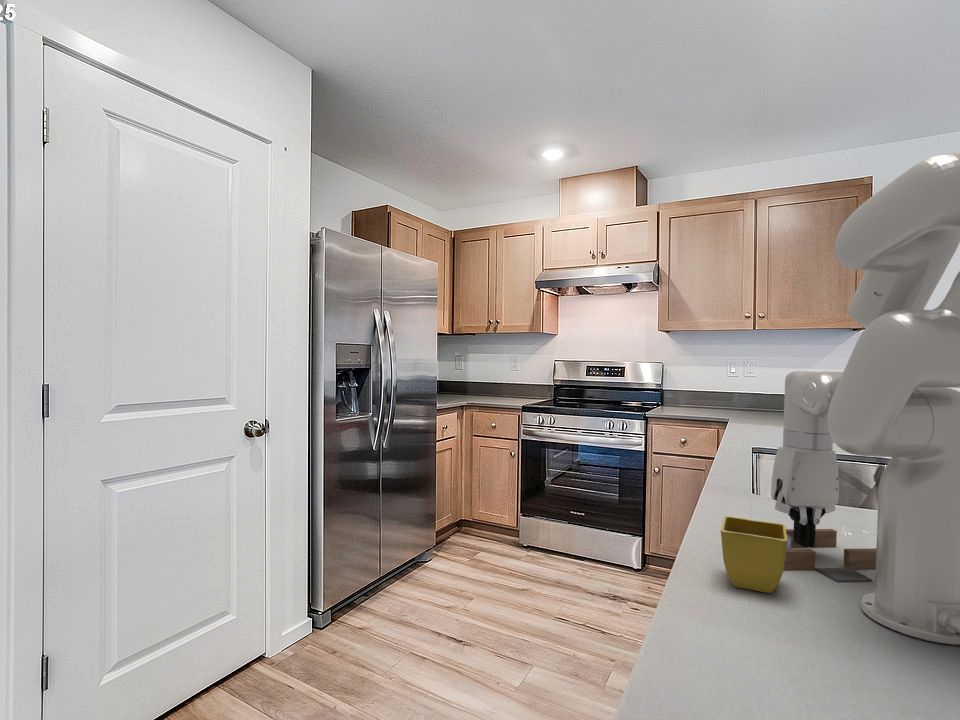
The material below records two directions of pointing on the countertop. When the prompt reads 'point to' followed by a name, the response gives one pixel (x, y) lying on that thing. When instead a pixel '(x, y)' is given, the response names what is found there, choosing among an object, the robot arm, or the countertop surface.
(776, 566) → the flower pot
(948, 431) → the robot arm
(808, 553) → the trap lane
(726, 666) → the countertop surface
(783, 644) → the countertop surface
